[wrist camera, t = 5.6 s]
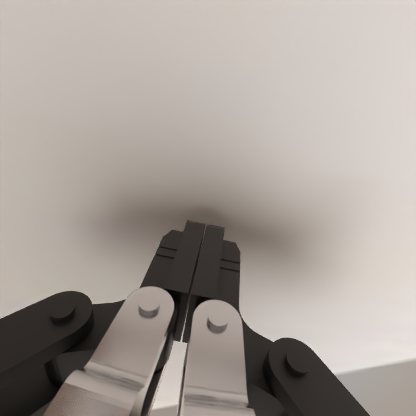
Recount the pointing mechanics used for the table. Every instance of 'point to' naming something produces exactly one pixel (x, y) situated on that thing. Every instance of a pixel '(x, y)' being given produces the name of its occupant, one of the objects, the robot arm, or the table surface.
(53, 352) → the robot arm
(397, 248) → the table surface
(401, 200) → the table surface
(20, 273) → the table surface
